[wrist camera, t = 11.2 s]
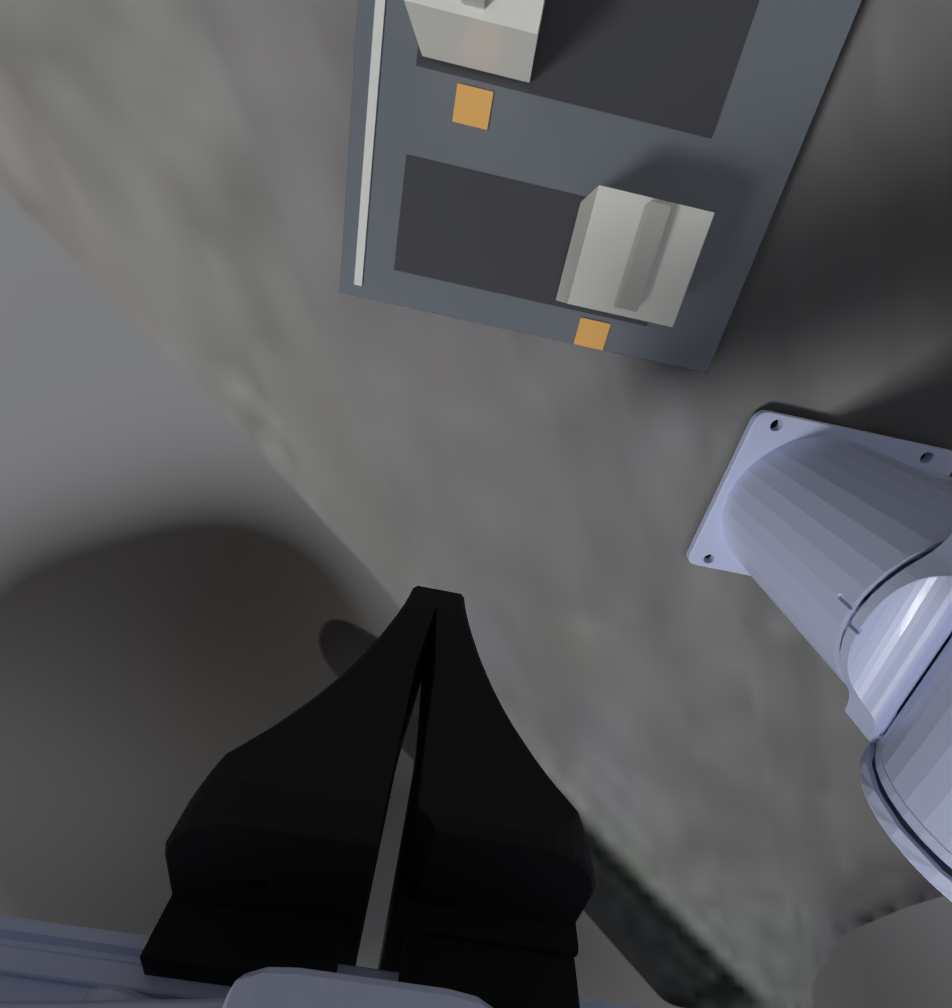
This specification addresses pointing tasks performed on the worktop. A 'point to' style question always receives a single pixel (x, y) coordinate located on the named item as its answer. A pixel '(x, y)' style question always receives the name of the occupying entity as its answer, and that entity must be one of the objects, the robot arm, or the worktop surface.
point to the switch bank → (578, 157)
